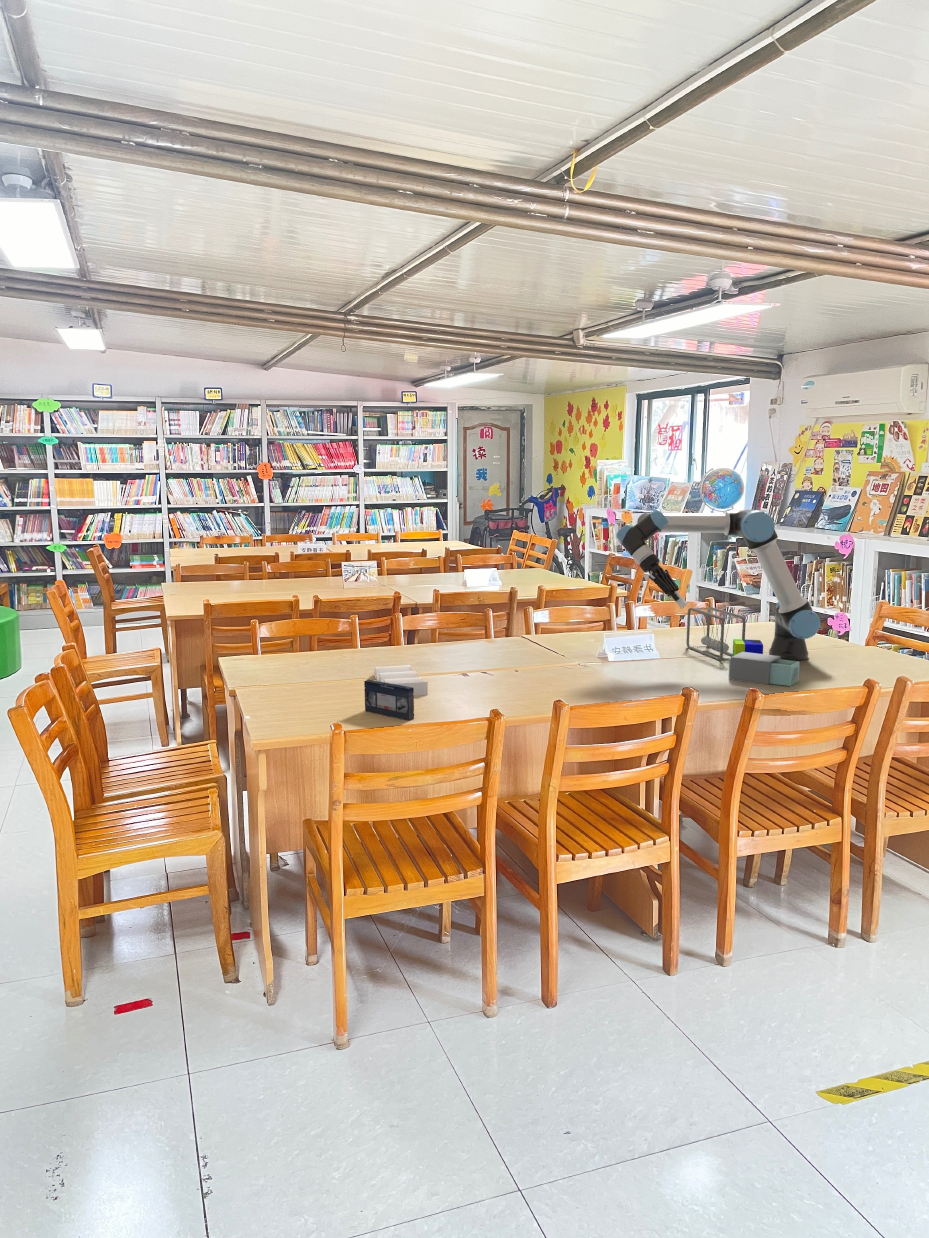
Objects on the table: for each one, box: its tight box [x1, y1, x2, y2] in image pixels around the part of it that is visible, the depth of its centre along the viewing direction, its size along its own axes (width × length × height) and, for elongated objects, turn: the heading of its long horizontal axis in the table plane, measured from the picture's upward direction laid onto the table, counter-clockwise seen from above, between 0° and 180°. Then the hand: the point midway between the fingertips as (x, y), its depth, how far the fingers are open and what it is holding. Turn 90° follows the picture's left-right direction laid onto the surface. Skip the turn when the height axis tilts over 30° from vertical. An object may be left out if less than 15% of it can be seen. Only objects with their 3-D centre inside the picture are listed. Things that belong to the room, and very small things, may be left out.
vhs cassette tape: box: [363, 679, 415, 721], centre depth 270 cm, size 18×3×10 cm, turn 52°
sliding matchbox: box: [728, 657, 801, 687], centre depth 317 cm, size 22×10×7 cm, turn 53°
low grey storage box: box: [729, 652, 782, 686], centre depth 319 cm, size 14×12×8 cm
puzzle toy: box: [732, 638, 764, 656], centre depth 338 cm, size 10×10×10 cm
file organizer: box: [373, 664, 429, 697], centre depth 311 cm, size 13×35×5 cm, turn 14°
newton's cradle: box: [686, 606, 747, 661], centre depth 363 cm, size 30×10×18 cm, turn 13°
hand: (684, 606), depth 333 cm, fingers closed
